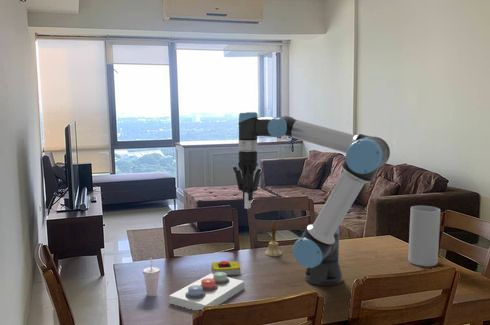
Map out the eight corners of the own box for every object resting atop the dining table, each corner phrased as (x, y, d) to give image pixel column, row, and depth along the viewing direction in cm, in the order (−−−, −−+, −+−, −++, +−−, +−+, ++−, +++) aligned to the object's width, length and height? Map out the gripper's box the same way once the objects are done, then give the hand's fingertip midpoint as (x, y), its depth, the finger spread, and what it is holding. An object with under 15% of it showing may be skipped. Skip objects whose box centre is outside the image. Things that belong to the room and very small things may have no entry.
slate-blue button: (205, 292, 172) (205, 287, 172) (196, 297, 168) (196, 291, 167) (194, 289, 175) (193, 284, 174) (185, 294, 170) (185, 288, 170)
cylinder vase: (402, 262, 216) (405, 208, 213) (416, 256, 225) (419, 204, 222) (429, 269, 207) (431, 213, 204) (442, 262, 215) (445, 209, 212)
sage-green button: (229, 278, 186) (229, 273, 185) (222, 283, 181) (222, 277, 181) (218, 276, 188) (218, 271, 188) (210, 280, 184) (210, 275, 184)
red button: (217, 285, 179) (217, 280, 179) (210, 290, 174) (209, 284, 174) (206, 282, 182) (206, 277, 181) (198, 287, 177) (198, 281, 177)
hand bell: (262, 252, 231) (262, 220, 229) (278, 250, 233) (278, 218, 231) (268, 257, 223) (268, 224, 221) (284, 255, 225) (285, 222, 223)
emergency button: (208, 259, 207) (241, 257, 210) (208, 269, 208) (241, 267, 210) (210, 267, 198) (245, 264, 201) (210, 277, 199) (245, 274, 201)
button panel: (244, 288, 185) (244, 280, 185) (205, 313, 163) (205, 304, 163) (210, 280, 194) (210, 272, 193) (169, 303, 171) (169, 294, 171)
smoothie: (161, 290, 183) (160, 255, 181) (159, 297, 177) (158, 261, 175) (144, 291, 183) (144, 255, 181) (141, 297, 176) (140, 261, 175)
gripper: (229, 150, 191) (229, 207, 194) (257, 152, 184) (257, 211, 187) (239, 148, 197) (238, 204, 200) (266, 150, 191) (266, 208, 194)
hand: (247, 207), depth 194 cm, fingers closed
